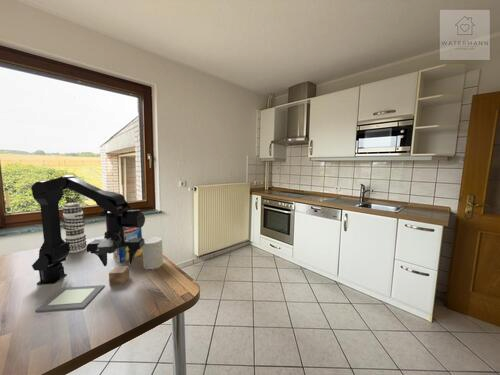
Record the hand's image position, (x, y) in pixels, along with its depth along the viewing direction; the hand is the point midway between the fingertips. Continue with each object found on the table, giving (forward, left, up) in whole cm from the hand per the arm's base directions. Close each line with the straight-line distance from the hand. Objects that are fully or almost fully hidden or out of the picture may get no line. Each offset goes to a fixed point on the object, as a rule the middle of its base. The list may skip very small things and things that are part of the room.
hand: (118, 265), depth 82 cm
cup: (+9, +12, -7) cm, 17 cm away
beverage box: (-6, +22, -7) cm, 24 cm away
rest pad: (-11, -9, -7) cm, 16 cm away
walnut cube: (0, 0, -7) cm, 7 cm away
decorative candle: (-37, +34, -7) cm, 51 cm away
